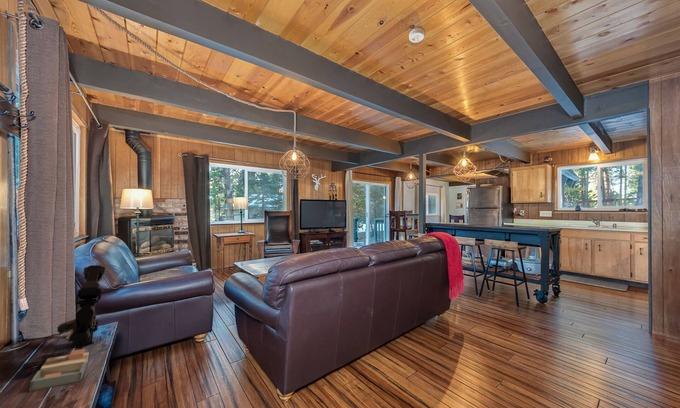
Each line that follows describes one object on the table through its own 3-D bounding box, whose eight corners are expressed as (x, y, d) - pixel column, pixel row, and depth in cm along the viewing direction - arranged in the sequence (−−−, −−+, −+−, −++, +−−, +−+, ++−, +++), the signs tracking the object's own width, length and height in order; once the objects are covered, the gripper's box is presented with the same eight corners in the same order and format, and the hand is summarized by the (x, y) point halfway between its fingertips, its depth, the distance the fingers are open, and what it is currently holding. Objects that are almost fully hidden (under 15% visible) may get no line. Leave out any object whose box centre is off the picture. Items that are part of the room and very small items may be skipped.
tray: (36, 380, 105) (38, 370, 105) (84, 371, 113) (85, 362, 113) (28, 391, 98) (30, 381, 99) (80, 381, 106) (81, 372, 107)
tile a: (71, 355, 117) (71, 350, 117) (84, 353, 119) (85, 348, 120) (68, 360, 113) (69, 355, 113) (82, 358, 116) (83, 353, 116)
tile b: (41, 381, 101) (40, 386, 101) (58, 378, 104) (57, 383, 103) (45, 375, 105) (44, 380, 104) (61, 372, 107) (60, 377, 107)
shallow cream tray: (46, 367, 113) (48, 358, 113) (87, 361, 120) (88, 352, 121) (38, 379, 106) (40, 368, 106) (83, 371, 113) (84, 361, 113)
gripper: (67, 309, 125) (61, 342, 124) (54, 323, 110) (48, 362, 109) (98, 306, 132) (93, 338, 131) (90, 319, 116) (85, 356, 115)
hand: (80, 348), depth 121 cm, fingers closed
